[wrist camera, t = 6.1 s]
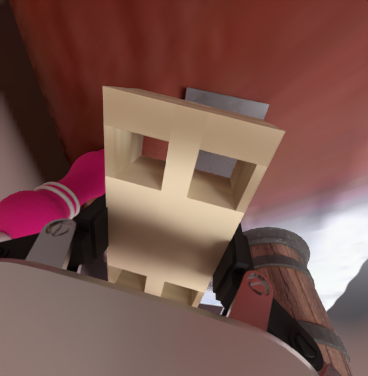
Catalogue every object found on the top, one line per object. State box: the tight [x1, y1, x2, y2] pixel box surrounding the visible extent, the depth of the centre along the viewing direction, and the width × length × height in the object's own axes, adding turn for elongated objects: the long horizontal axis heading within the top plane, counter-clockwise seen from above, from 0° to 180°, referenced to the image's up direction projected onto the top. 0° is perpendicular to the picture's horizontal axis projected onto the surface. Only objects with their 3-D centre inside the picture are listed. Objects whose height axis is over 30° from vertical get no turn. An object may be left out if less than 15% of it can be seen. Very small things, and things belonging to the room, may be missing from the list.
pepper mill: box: [0, 148, 106, 242], centre depth 23 cm, size 7×7×20 cm
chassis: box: [185, 87, 269, 178], centre depth 25 cm, size 18×11×6 cm, turn 170°
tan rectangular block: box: [103, 86, 285, 308], centre depth 11 cm, size 14×7×4 cm, turn 168°
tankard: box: [243, 227, 353, 376], centre depth 29 cm, size 24×17×20 cm
